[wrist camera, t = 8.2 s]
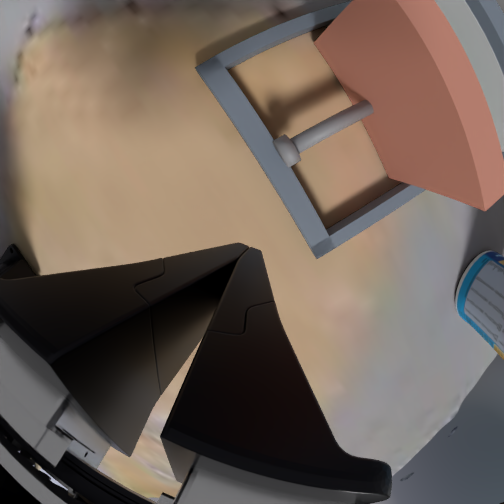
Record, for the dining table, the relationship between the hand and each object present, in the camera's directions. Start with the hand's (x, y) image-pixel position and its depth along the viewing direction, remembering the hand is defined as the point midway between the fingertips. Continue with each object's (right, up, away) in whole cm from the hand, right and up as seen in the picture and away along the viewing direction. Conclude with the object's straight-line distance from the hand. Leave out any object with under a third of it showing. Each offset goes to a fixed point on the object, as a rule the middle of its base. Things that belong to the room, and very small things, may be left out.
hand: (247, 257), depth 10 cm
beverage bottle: (+25, -3, +14) cm, 28 cm away
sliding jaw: (+5, +9, +7) cm, 13 cm away
